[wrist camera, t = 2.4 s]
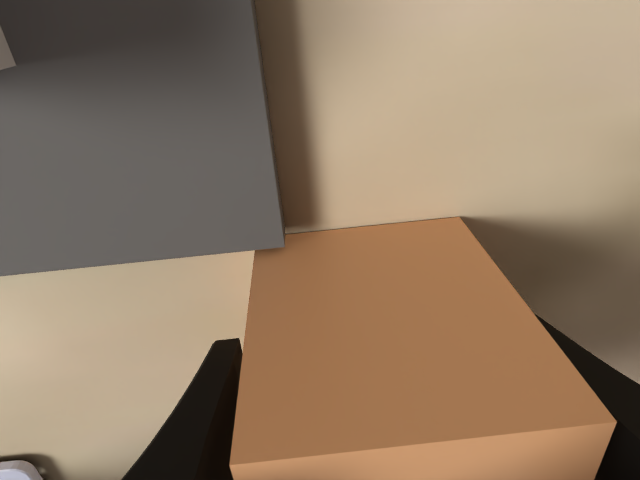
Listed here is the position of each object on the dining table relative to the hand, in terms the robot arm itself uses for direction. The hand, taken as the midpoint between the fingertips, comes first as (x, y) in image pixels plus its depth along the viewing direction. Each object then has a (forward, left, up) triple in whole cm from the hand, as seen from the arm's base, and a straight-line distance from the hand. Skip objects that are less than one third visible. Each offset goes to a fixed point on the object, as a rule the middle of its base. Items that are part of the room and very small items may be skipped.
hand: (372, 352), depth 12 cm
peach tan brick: (0, 0, -2) cm, 2 cm away
